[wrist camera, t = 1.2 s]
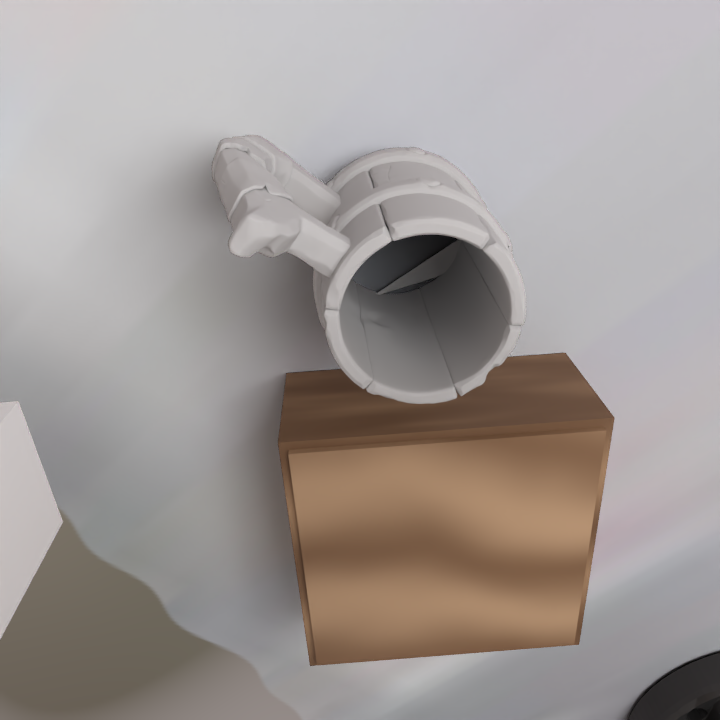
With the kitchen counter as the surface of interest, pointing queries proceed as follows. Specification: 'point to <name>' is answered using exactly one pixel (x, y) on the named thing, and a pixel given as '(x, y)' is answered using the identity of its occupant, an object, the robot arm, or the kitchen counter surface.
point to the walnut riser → (444, 512)
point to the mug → (365, 237)
